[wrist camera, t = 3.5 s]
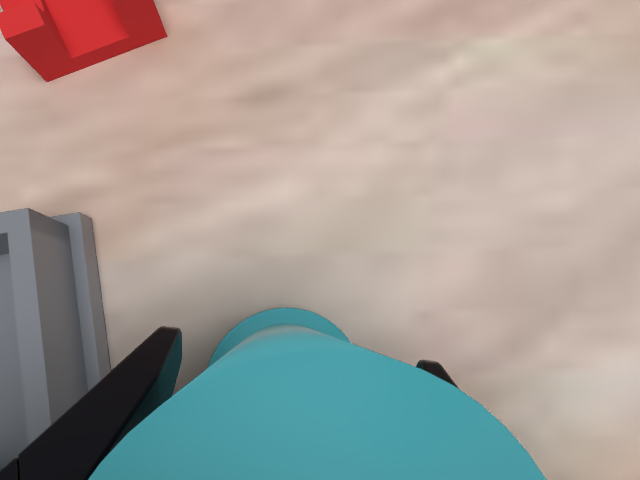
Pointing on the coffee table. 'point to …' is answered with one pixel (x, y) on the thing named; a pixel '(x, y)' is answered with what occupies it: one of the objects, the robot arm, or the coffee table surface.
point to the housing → (46, 322)
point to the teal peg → (315, 416)
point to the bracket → (77, 31)
